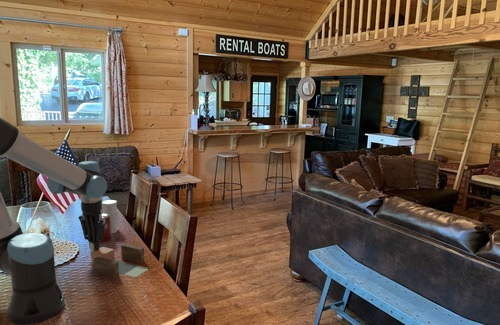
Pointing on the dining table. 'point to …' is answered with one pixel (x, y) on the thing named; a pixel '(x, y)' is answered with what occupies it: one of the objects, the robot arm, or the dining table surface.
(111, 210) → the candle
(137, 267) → the mat
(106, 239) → the soda can
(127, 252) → the tunnel walls
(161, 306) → the dining table surface
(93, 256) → the terracotta block
